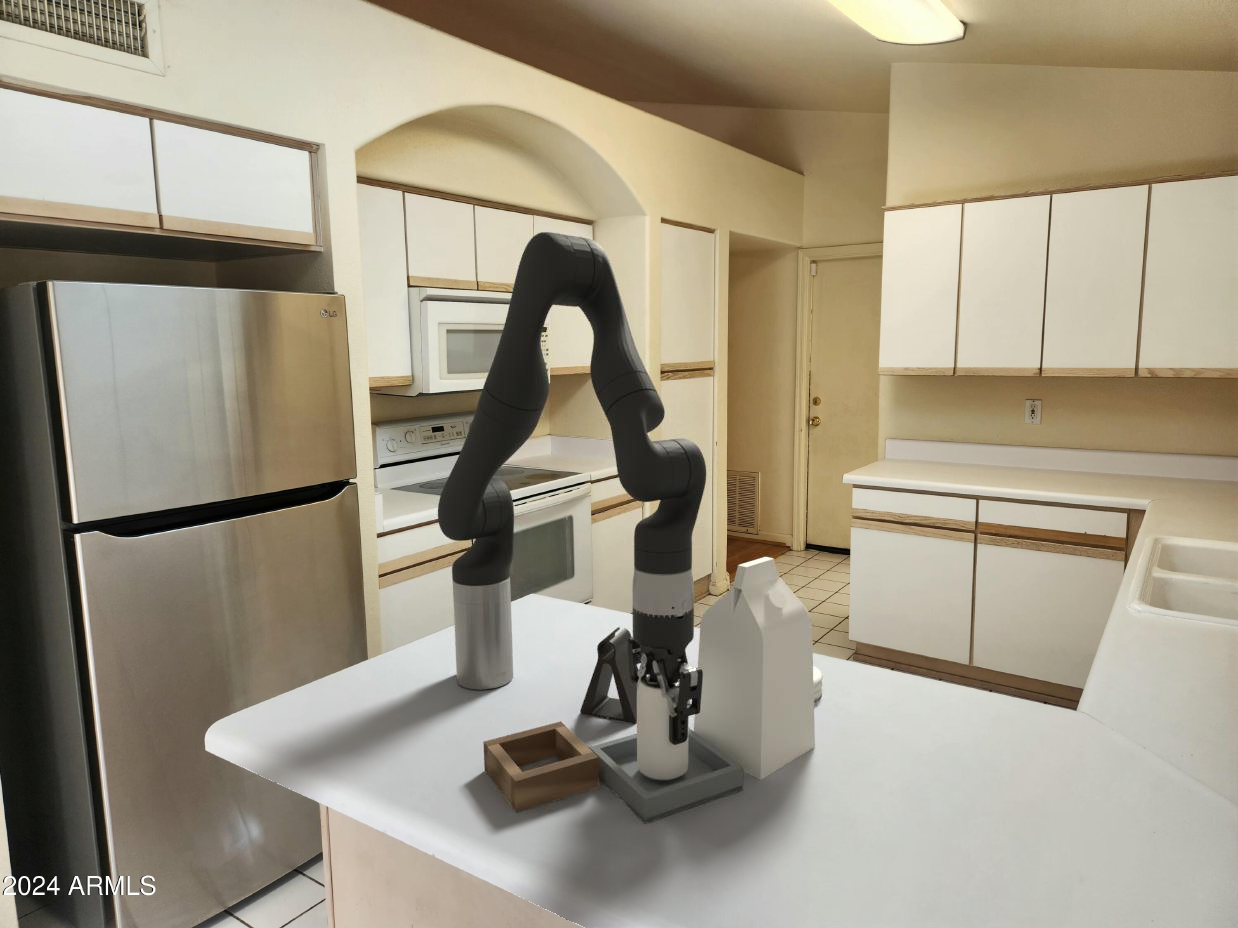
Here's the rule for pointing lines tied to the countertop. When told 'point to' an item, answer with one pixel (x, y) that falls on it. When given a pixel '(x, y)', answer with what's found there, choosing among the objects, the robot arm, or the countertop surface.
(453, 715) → the countertop surface
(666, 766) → the can
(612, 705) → the phone stand
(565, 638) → the countertop surface
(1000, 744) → the countertop surface
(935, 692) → the countertop surface
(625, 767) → the tray
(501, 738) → the socket block
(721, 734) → the milk
